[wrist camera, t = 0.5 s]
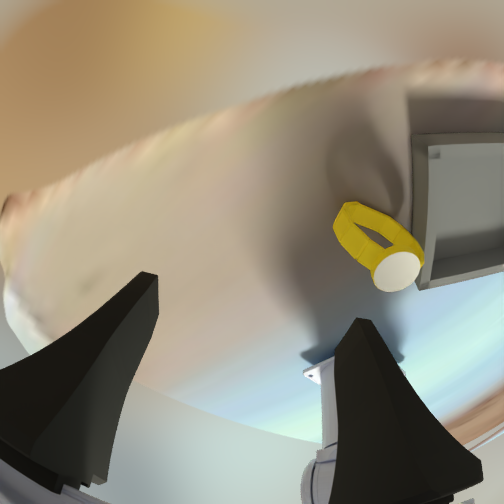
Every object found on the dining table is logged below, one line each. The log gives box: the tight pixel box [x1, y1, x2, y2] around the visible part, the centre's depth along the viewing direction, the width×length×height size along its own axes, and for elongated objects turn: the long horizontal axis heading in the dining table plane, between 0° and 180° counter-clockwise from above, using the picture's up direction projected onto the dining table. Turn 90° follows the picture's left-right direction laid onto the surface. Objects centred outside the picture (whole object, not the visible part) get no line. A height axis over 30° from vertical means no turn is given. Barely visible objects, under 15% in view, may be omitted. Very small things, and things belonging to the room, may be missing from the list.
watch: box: [333, 201, 424, 292], centre depth 16 cm, size 6×3×6 cm, turn 71°
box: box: [411, 132, 504, 291], centre depth 16 cm, size 11×11×2 cm
